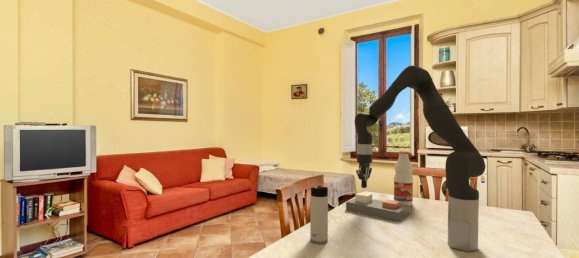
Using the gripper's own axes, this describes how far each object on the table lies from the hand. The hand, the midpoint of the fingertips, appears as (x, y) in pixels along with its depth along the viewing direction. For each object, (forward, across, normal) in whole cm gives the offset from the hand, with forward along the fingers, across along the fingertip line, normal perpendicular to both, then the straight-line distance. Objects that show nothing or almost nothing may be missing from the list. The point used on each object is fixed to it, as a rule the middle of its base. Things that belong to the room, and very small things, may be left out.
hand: (364, 187), depth 149 cm
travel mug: (+11, -48, -7) cm, 50 cm away
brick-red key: (+8, 0, -14) cm, 16 cm away
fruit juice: (+11, +23, -11) cm, 28 cm away
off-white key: (+7, 0, 0) cm, 7 cm away
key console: (+11, 0, -7) cm, 13 cm away
